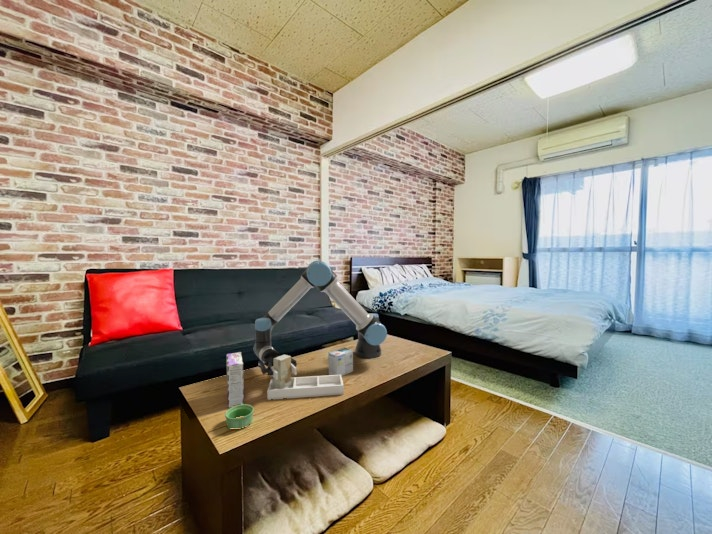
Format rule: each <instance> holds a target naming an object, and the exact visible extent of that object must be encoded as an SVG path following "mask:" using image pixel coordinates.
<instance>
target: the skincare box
mask: <svg viewBox="0 0 712 534" xmlns="http://www.w3.org/2000/svg"><path fill="white" fill-rule="evenodd" d="M291 358H292V356H291V355H288V354H282V355H280V356H279V357H276V358H274V359H273V368H274V369H275V370H276V371H277V372H278V379H277V380H276V379H275V378H274V377H273V376H272V377H273V378H272V379H273V387H274V388H276V389H283V388H285V387H287V386H289V385H291V378H292V372H291Z"/></svg>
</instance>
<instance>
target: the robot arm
mask: <svg viewBox="0 0 712 534" xmlns="http://www.w3.org/2000/svg"><path fill="white" fill-rule="evenodd" d="M314 288H316V289H318V291H319V292H320V293H325V294H326V295H327V296H328V297H329V299H331V300H332V301H333V302H334V303H335V304H336V306H337V307H338V308H339V309H340V310H341V311H342V312H343V313H344V314H345V315H346V316H347V318H349V319H350V320H351V322H353V323H354V325H355V330H356V331H357V343H356V345H355V348H354V355H355V356H356V357H359V358H363V357H364V359H372V358H373V359H374V357H375V358H378V357H380V356H381V355H382V348H381V344H383V343H384V342H385V341H386V339H387V335H388V331H387V328H386V326H385V325H384V324H382V323H381V321H380V318H379V314H378V313H373V312H372V313H368V312H367V310H366V309H364V307H362V305H361V304H360V303H359V302H358V301H357V300H356V299H355V298H354V297H353V296H352V295H351V293H350V292H349V291H348V290H347V289H346V288H345V287H344V286H343V285H342V284H341V283H340V282H339V280H338V275H337V274H336V272H334V271H333V269H331V267H330V266H329V264H328V263H326V262H324V261H323V260H314V261H312V262H310V263H309V265H308V266H307V267H306V269H304V272H302V274H301V275H300V279H299V280H298V281H297V282H296V283H295V284H294V285H293V286H292V287H291V288H290V289H289V290H288V291H287V292H286V293H285V294H284V295H283V296H282V297H281V298H280V300H278V301H277V302H276V304H274V306H273V307H272V308H271V309H270V310H269V311H268V312H267V313H266V314H265V315H264V316H263V317H260V318H256V319H255V321H254V337H255V338H254V339H255V340H254V341H255V342H254V343H255V344H254V345H253V353H254V354H255V356H256V357H258V359H259V360H258V362H257V363H258V365H257V367H258V368H260V370H261V373H262V375H266V374H267V377H268V376H272V377H274V378H275V379H276V380H277V379H278V372H277V371H276V370H275V369H274V368H273V359H274V358H276V357H279V356H281V355H280V353H279V352H278V350H276V349H275V348H274V347H273V346H272V331H273V328H274V327H275V326H276V325H277V324H278V323H279V322H280V320H282V318H284V317H285V316H286V315H287V313H288V312H289V311H290V310H292V308H293V307H294V306H295V305H296V304H297V303H298V302H299V301H300V300H301V299H302V298H303V297H304V296H305V295H306V294H307V293H308V292H309V290H310V289H314ZM297 369H298V368H297V360H296V359H294V358H292V357H291V374H292V373H293V375H294V376H297V373H298V372H297V371H298V370H297Z"/></svg>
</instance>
